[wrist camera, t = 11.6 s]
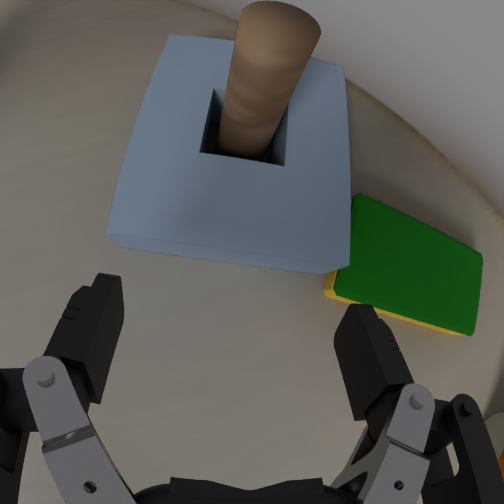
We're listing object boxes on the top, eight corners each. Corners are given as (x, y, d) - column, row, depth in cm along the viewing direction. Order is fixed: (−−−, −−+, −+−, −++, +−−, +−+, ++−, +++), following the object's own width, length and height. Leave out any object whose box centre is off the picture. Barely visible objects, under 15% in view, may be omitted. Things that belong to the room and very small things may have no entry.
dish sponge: (455, 336, 22) (474, 336, 20) (319, 295, 21) (334, 293, 18) (465, 259, 24) (484, 254, 22) (341, 201, 22) (356, 190, 20)
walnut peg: (211, 173, 21) (234, 35, 9) (219, 134, 21) (245, -5, 10) (258, 180, 21) (322, 55, 9) (262, 141, 22) (319, 12, 10)
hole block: (122, 247, 19) (106, 231, 15) (171, 68, 22) (170, 34, 18) (321, 274, 21) (349, 265, 17) (325, 96, 24) (343, 67, 20)
